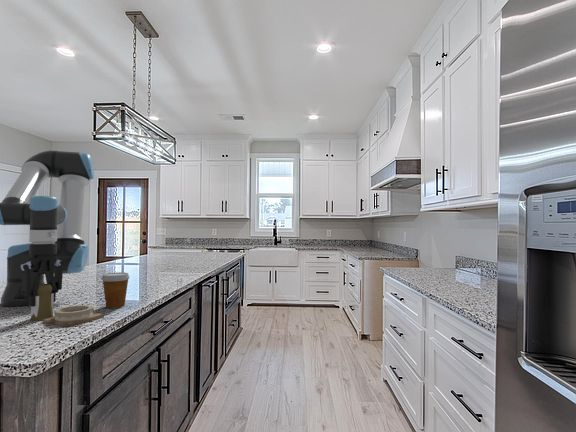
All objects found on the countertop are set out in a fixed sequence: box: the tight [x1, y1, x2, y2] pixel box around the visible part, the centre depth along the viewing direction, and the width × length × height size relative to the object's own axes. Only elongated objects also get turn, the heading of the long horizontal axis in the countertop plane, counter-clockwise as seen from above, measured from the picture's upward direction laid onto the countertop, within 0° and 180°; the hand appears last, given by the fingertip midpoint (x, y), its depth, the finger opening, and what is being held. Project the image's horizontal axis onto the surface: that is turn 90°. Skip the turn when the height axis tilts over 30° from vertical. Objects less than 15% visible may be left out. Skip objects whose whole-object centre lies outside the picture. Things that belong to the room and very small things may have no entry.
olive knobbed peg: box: [30, 283, 54, 321], centre depth 115 cm, size 6×6×11 cm
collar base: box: [41, 304, 105, 328], centre depth 112 cm, size 12×12×4 cm
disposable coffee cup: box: [101, 271, 130, 309], centre depth 131 cm, size 10×10×12 cm
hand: (42, 314), depth 115 cm, fingers closed on olive knobbed peg, 4 cm apart
